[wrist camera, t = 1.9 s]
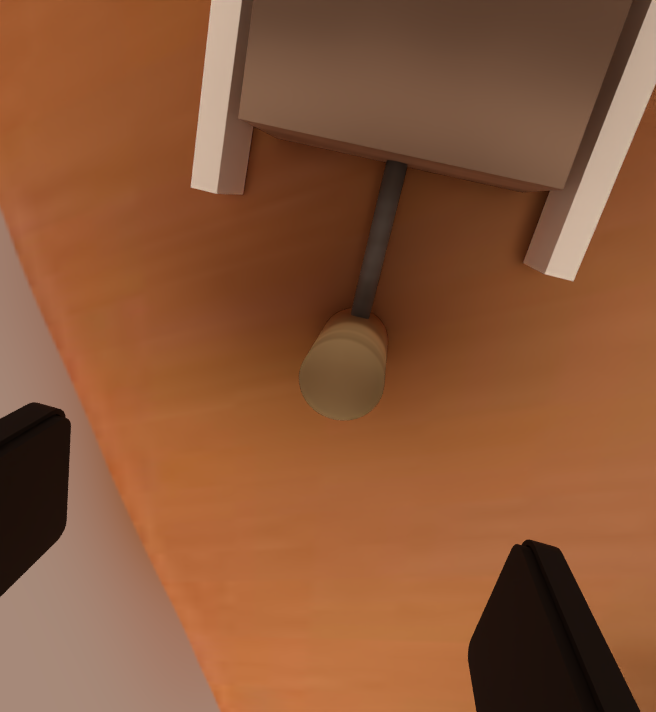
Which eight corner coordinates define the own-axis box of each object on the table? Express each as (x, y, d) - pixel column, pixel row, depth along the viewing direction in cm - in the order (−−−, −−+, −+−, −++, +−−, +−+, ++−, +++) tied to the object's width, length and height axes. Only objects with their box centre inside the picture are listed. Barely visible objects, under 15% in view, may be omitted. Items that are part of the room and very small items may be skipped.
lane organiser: (-56, -281, 16) (-155, -385, 13) (708, -142, 14) (784, -227, 11) (-36, 126, 20) (-106, 114, 18) (547, 269, 19) (573, 281, 16)
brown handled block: (323, -144, 16) (286, -308, 11) (617, -93, 15) (727, -242, 10) (246, 341, 22) (200, 384, 17) (452, 394, 21) (469, 454, 16)
